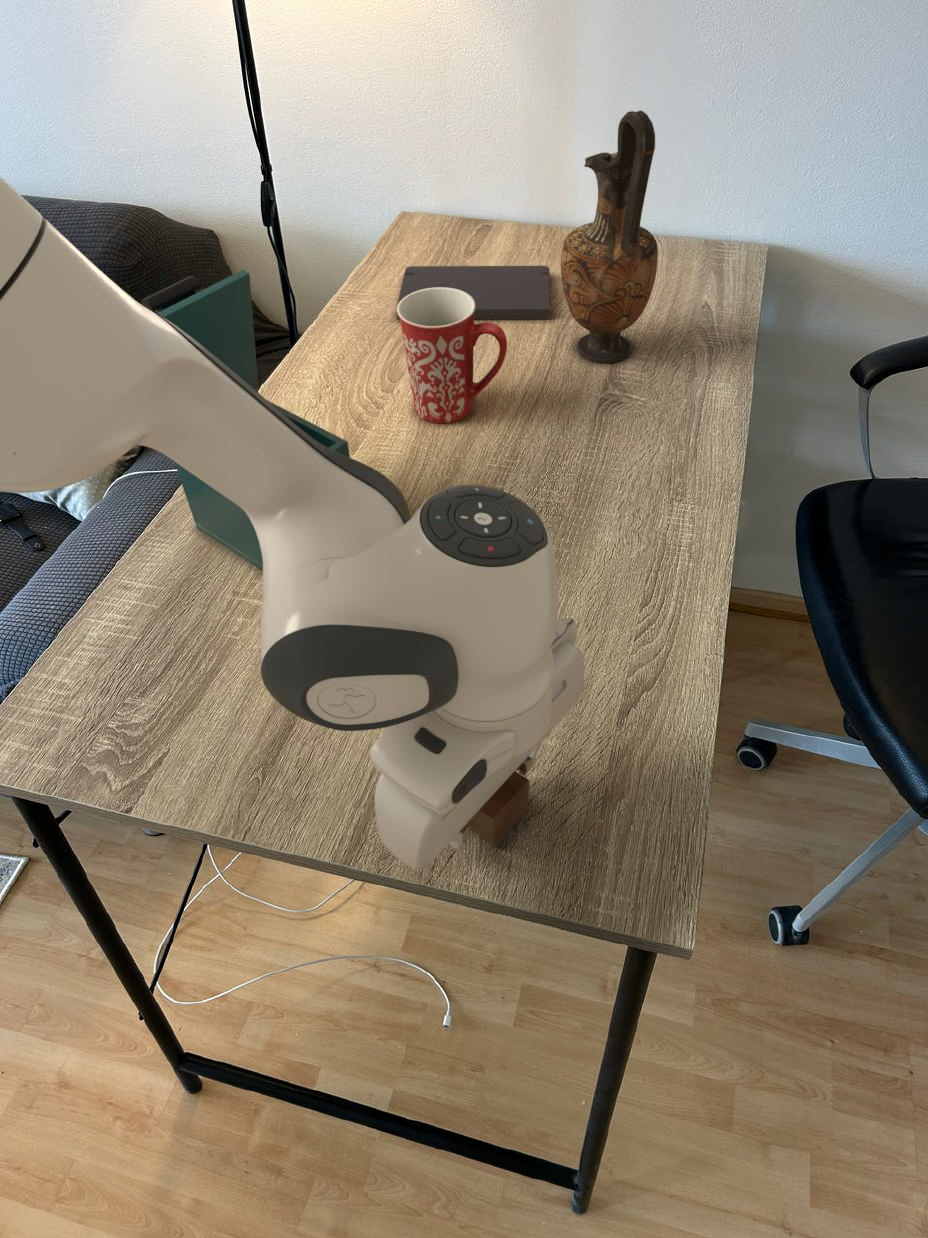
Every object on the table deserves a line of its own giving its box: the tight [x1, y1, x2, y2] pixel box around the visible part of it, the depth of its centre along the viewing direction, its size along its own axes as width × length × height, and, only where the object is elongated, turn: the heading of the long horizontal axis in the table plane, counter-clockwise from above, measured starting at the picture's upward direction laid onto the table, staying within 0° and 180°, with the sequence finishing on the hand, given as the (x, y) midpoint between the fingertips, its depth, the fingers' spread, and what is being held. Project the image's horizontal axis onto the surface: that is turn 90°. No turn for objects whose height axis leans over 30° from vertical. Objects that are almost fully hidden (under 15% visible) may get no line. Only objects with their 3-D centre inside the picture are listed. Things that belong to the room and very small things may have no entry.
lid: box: [140, 269, 259, 393], centre depth 87 cm, size 14×12×5 cm
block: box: [467, 770, 530, 848], centre depth 71 cm, size 4×4×4 cm
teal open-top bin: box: [173, 399, 351, 572], centre depth 93 cm, size 14×12×11 cm
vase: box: [560, 109, 659, 364], centre depth 107 cm, size 12×12×30 cm
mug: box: [396, 287, 508, 424], centre depth 106 cm, size 13×9×14 cm
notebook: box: [395, 265, 551, 320], centre depth 129 cm, size 13×2×21 cm
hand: (490, 801), depth 71 cm, fingers open, 7 cm apart
